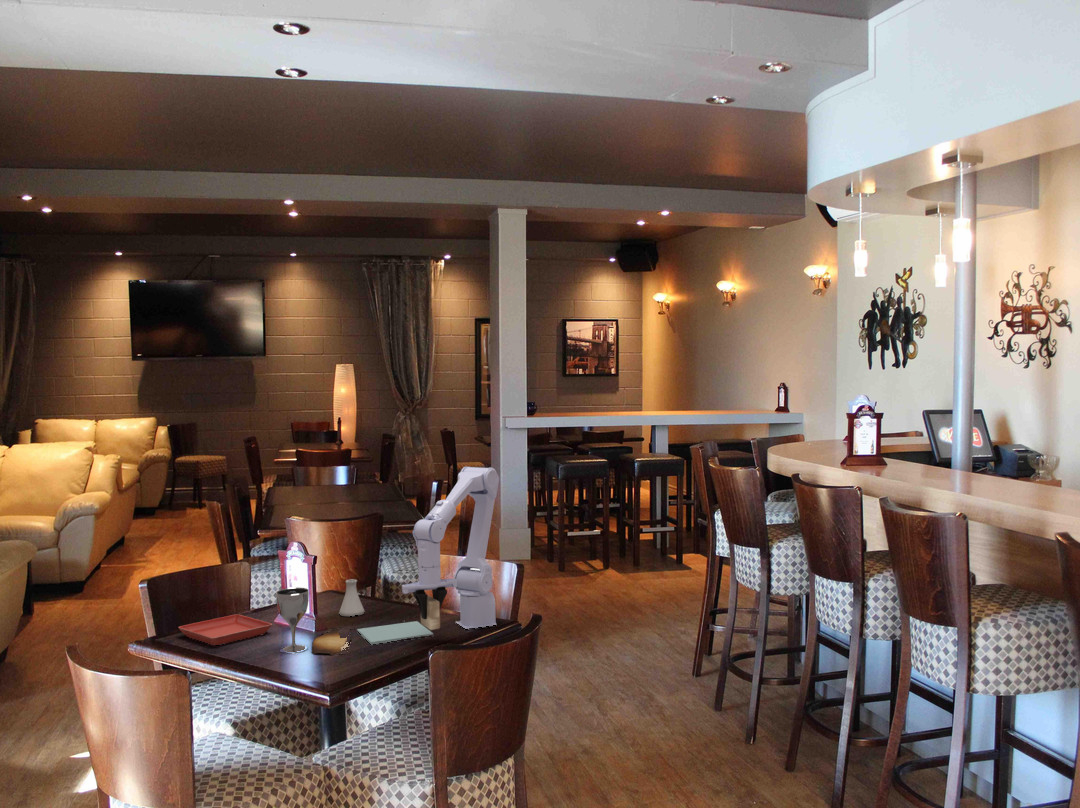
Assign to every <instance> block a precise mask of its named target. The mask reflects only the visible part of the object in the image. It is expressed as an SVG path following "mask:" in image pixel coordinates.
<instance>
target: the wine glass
mask: <svg viewBox="0 0 1080 808" xmlns="http://www.w3.org/2000/svg"><path fill="white" fill-rule="evenodd" d="M275 597H276V605H277V611H278V613H279V615H280V616H281V617H282V618H283V620H284V621H286V623H287V624H288V625H289V628H290V634H291V644H290V645H288V646H287V645H286V646H287V647H286V646H284V647H285V648H283V647H282V648H283V650H284V651H287V652H297V651H301V650H304V649H305V646H306V645H304V646H302V644H301V645H300V644H296V629H297V625H298V623H299V622H300V621H301V619H302V618H304V616H305V614H306V613H307V611H308V606H309V599H310V594H309V589H308V588H306V587H287V588H282V589H278V590H277V591H276V596H275Z"/></svg>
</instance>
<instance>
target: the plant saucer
mask: <svg viewBox="0 0 1080 808" xmlns="http://www.w3.org/2000/svg"><path fill="white" fill-rule="evenodd" d="M272 626H273V623H270V622H267V621H264V620H260V619H256V618H253V617H249V616H245V615H243V614H232V615H226V616H222V617H217V618H212V619H209V620H202V621H199V622H193V623H189V624H184V625H180V626H178V630H180V632H181V633H182V634H184V636H185V637H187V638H188V637H189V638H188V639H191V638H192V639H191V640H194V639H196V640H195V641H197V640H199V641H198V642H200V641H202V642H201V643H203V642H205V643H204V644H206V643H208V644H207V645H209V644H211V645H210V646H212V645H220V644H223V643H228V644H230V643H229V642H232V643H234V642H233V641H236V642H238V641H237V640H240V641H242V640H241V639H244V640H247V639H246V638H248V639H251V638H250V637H252V638H255V637H254V636H256V637H258V636H257V635H260V636H262V635H261V634H263V635H265V634H266V633H267V632H268V631H269V630H270V629H271V627H272ZM264 633H265V634H264ZM220 646H221V645H220Z"/></svg>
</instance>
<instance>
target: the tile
mask: <svg viewBox="0 0 1080 808" xmlns="http://www.w3.org/2000/svg"><path fill="white" fill-rule="evenodd" d="M420 624H421V625H423V626H424V627H425V628H427V629H428V630H430V631H433V630H439V629H440V628H441V610H440V602H439V601H437V600H436V599H434V598H433V596H431V595H428V597H427V619H423V618H422V617H421V616H420Z"/></svg>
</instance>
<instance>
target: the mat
mask: <svg viewBox="0 0 1080 808" xmlns="http://www.w3.org/2000/svg"><path fill="white" fill-rule="evenodd" d="M357 631H358V632H359V633H360V634H361V635H360V634H359V633H358V632H357ZM356 632H357V633H358V634H359V635H360V637H362V638H363V639H364V640H365V639H366V640H367V641H368V642H369V643H370V644H371V645H370V644H369V643H368V642H367V641H366V640H365V641H366V642H367V643H368V644H369V645H370V646H374V645H373V644H376V645H380V644H379V643H383V644H388V643H387V642H390V643H392V642H391V641H397V640H401V639H407V638H414V637H421V636H429V635H433V636H434V632H432V630H430V629H428V628H427V627H425V626H424V625H422V624H421V622H420V621H418V620H416V621H408V622H402V623H393V624H387V625H386V624H385V625H378V626H370V627H363V628H357V629H356ZM397 642H398V641H397Z"/></svg>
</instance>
